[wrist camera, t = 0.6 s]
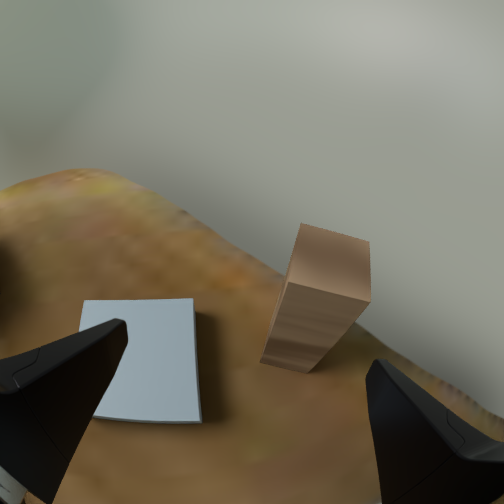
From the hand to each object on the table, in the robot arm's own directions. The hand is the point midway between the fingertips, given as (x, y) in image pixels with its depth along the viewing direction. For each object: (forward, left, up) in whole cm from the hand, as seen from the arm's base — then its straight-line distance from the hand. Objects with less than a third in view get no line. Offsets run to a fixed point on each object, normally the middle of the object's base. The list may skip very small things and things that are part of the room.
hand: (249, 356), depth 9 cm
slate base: (+5, +8, -15) cm, 18 cm away
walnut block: (+6, -6, -15) cm, 17 cm away
